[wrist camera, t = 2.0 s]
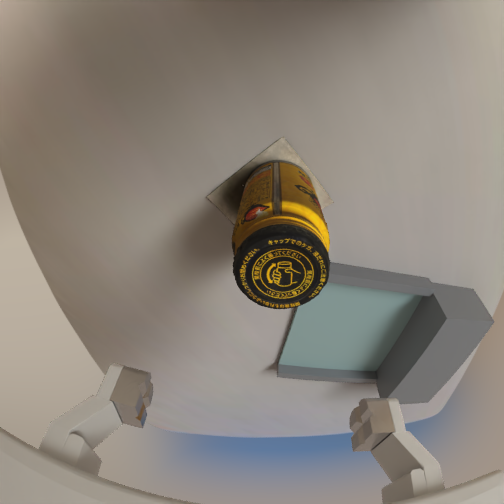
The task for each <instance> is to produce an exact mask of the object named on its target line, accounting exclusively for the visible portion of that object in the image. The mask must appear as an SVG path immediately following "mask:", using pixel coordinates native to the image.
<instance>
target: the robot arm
mask: <svg viewBox="0 0 504 504" xmlns="http://www.w3.org/2000/svg"><path fill="white" fill-rule="evenodd" d="M150 380H151V374H150V372H146V371H142V370H138V369H134V368H130V367H127V366H124V365H120V364H116V363H112V364H111V365H110V366H109V368H108V371H107V373H106V375H105V377H104V379H103V382H102V384H101V386H100V388H99V391H98V393H97V395H96V396H94V395H92V396H91V397H89V398H87V399H86V400H85V401H83V402H81V403H80V404H78V405H77V406H75V407H74V408H72V409H70V410H69V411H67V412H66V413H64V414H63V415H61V416H59V417H58V418H56V419H55V420H53V421H51V422H50V424H49V426H48V428H47V431H46V433H45V435H44V437H43V440H42V442H41V445H40V447H39V449H37V448H35V447H33V446H31V445H29V444H27V443H26V442H24V441H22V440H20V439H19V438H17V437H15V436H14V435H12V434H10V433H9V432H7V431H6V430H4V429H2V428H1V427H0V504H199V503H193V502H188V501H183V500H177V499H173V498H168V497H164V496H160V495H156V494H152V493H148V492H145V491H141V490H138V489H134V488H131V487H128V486H125V485H122V484H119V483H116V482H113V481H109V480H107V479H104V478H101V477H99V476H98V472H99V469H100V465H101V459H100V458H99V457H98V456H97V454H96V453H95V452H94V451H93V449H94V448H95V447H96V446H97V445H98V444H100V443H101V442H102V441H103V440H104V439H106V438H107V437H108V436H109V435H111V434H112V433H113V432H114V431H115V430H117V429H118V428H119V427H120V426H121V425H122V423H124V424H128V425H132V426H136V427H139V428H143V426H144V423H145V420H146V417H147V412H146V408H147V407H148V406H150V404H151V400H152V396H153V384H152V383H151V382H150ZM350 429H351V430H352V431H353V432H354V434H353V436H352V437H351V440H352V448H353V451H371V453H372V454H373V456H374V457H375V459H376V460H377V461H378V463H379V464H380V466H381V467H382V468H383V470H384V471H385V473H386V474H387V476H388V477H389V478H390V480H391V481H392V483H391V484H389V485H387V486H385V487H384V488H383V489H382V500H383V504H504V472H503V471H502V470H496V471H493V472H491V473H488V474H486V475H483V476H481V477H478V478H476V479H473V480H470V481H467V482H465V483H462V484H459V485H456V486H453V487H450V488H447V489H445V487H444V482H443V477H442V472H441V468H440V464H439V463H438V461H437V460H435V458H434V457H433V456H432V455H431V454H430V453H429V452H428V451H427V450H426V449H425V448H424V447H423V446H422V445H421V444H420V442H419V441H417V439H416V438H415V437H414V436H413V435H412V434H411V433H410V432H409V431H406V429H405V425H404V421H403V417H402V413H401V409H400V405H399V401H398V399H397V398H366V399H362V400H361V401H360V402H359V406H358V407H356V408H354V410H353V411H352V412H351V416H350Z"/></svg>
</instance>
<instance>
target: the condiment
mask: <svg viewBox="0 0 504 504" xmlns="http://www.w3.org/2000/svg"><path fill="white" fill-rule="evenodd" d="M242 185H244V186H242ZM207 198H208V199H209V200H210V201H211V202H212V203H213V204H214V205H215V206H216V207H217V208H218V209H219V210H220V211H221V212H222V213H223V214H224V215H225V216H226V217H227V218H228V219H229V220H230V221H231V222H232V223H233V224H234V225H235V227H234V231H233V235H232V249H233V252H234V262H233V273H234V276H235V280H236V282H237V285H238V287H239V288H240V290H241V291H242V292H243V293H244V294H245V295H246V296H247V297H248V298H249V299H250V300H252V301H253V302H255V303H257V304H258V305H261V306H264V307H268V308H273V309H287V308H295V307H298V306H301V305H303V304H306V303H307V302H309V301H310V300H312V299H314V298H315V297H316V296H318V295H319V293H320V292H321V290H322V289H323V287H324V286H325V285H326V284H327V282H328V278H329V271H330V260H329V255H328V251H329V245H330V239H329V232H328V228H327V223H326V222H325V219H324V216H323V214H322V209H324V208H325V207H327V206H328V205H330V204H332V203H334V202H333V201H332V199H331V198H330V197H329V195H328V194H327V192H326V191H325V190H324V188H323V187H322V186H321V184H320V183H319V182H318V180H317V179H316V178H315V176H314V175H313V174H312V172H311V171H310V170H309V168H308V167H307V166H306V165H305V163H304V162H303V161H302V159H301V158H300V157H299V156H298V154H297V153H296V152H295V151H294V150H293V148H292V147H291V146H290V145H289V143H288V142H287V141H286V140H285V138H284V137H282V138H281V139H279V140H278V141H277V142H275V143H274V144H273V145H271V146H270V147H268V148H267V149H266V150H264V151H263V152H262V153H261V154H259V155H258V156H257V157H255V158H254V159H253V160H252V161H250V162H249V163H248V164H246V165H245V166H244V167H243V168H241V169H240V170H239V171H238V172H237V173H235V174H234V175H233V176H231V177H230V178H229V179H228V180H226V181H225V182H224V183H223V184H221V185H220V186H219V187H218V188H217V189H216V190H214V191H213V192H212V193H211V194H209V195H208V196H207Z"/></svg>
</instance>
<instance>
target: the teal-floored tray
mask: <svg viewBox="0 0 504 504" xmlns="http://www.w3.org/2000/svg"><path fill="white" fill-rule="evenodd" d="M493 323H494V320H493V319H492V317H491V315H490V314H489V312H488V311H487V309H486V307H485V306H484V304H483V303H482V301H481V300H480V298H479V297H478V295H477V294H476V292H475V291H474V289H469V288H463V287H457V286H450V285H444V284H437V283H431V281H430V280H429V278H424V277H418V276H412V275H406V274H399V273H393V272H387V271H381V270H375V269H369V268H363V267H356V266H350V265H344V264H338V263H332V262H330V271H329V278H328V282H327V284H326V285H325V286H324V287H323V289H322V290H321V292H320V293H319V295H318V296H316V297H315V298H314V299H312V300H310V301H309V302H307V303H306V304H303V305H301V306H298V307H296V311H295V314H294V317H293V320H292V323H291V326H290V329H289V332H288V335H287V338H286V341H285V344H284V347H283V349H282V352H281V355H280V358H279V361H278V364H277V377H282V378H292V379H303V380H315V381H330V382H351V383H375V382H377V387H378V391H379V396H380V398H397V399H398V401H399V404H413V403H426V402H429V401H430V400H431V399H432V398H433V397H434V395H435V394H436V393H437V392H438V391H439V390H440V389H441V388H442V387H443V386H444V385H445V384H446V383H447V381H448V380H449V379H450V378H451V377H452V376H453V375H454V373H455V372H456V371H457V370H458V369H459V368H460V366H461V365H462V364H463V363H464V362H465V360H466V359H467V358H468V357H469V355H470V354H471V353H472V352H473V350H474V349H475V348H476V346H477V345H478V344H479V342H480V341H481V340H482V338H483V337H484V336H485V334H486V333H487V332H488V330H489V329H490V327H491V326H492V324H493Z"/></svg>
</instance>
